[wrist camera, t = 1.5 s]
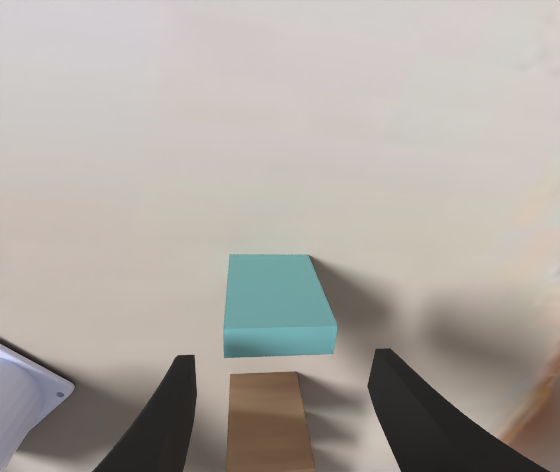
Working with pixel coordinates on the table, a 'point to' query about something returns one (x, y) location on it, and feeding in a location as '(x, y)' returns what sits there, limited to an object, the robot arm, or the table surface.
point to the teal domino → (276, 308)
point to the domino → (267, 424)
